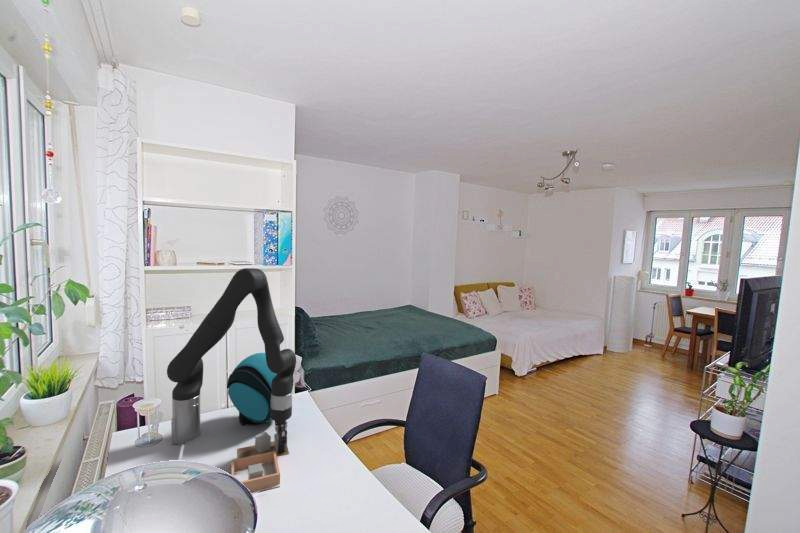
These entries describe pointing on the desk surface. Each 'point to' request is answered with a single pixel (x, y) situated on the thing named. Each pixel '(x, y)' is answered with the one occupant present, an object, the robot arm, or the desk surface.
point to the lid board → (252, 451)
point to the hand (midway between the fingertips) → (280, 448)
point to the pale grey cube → (262, 442)
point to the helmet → (252, 389)
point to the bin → (260, 481)
